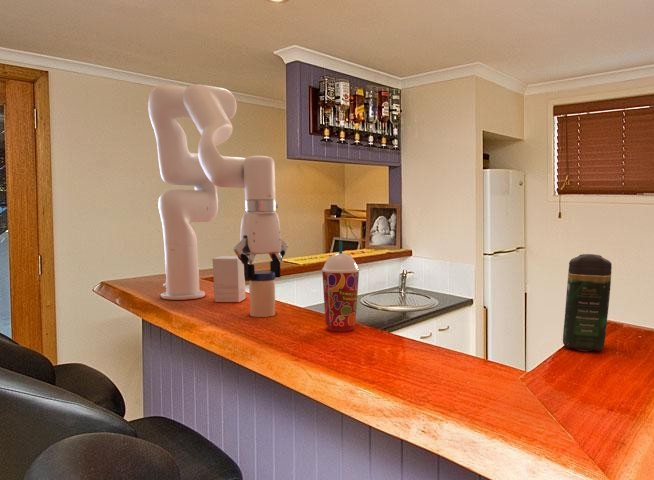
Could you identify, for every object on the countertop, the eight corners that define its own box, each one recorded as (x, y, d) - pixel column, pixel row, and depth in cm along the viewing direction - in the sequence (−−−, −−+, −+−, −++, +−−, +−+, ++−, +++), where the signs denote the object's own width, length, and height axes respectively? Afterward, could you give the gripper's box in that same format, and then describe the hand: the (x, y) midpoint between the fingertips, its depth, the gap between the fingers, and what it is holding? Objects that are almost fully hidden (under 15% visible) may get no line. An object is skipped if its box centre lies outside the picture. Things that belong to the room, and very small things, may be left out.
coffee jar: (606, 354, 106) (614, 257, 103) (561, 350, 109) (568, 255, 106) (603, 343, 115) (611, 253, 112) (562, 339, 118) (569, 251, 115)
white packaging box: (246, 298, 166) (245, 255, 164) (238, 302, 158) (237, 258, 156) (222, 297, 166) (220, 255, 164) (213, 302, 159) (211, 258, 157)
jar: (244, 314, 142) (243, 274, 140) (264, 311, 147) (263, 271, 145) (261, 318, 138) (260, 276, 136) (280, 314, 143) (280, 274, 141)
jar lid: (243, 278, 140) (242, 272, 140) (263, 276, 145) (263, 270, 145) (260, 281, 136) (260, 274, 136) (280, 278, 141) (280, 272, 141)
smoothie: (346, 335, 121) (346, 242, 117) (314, 330, 125) (314, 240, 122) (365, 327, 128) (366, 240, 124) (335, 323, 132) (335, 238, 129)
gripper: (277, 207, 146) (279, 274, 149) (222, 208, 134) (225, 281, 136) (296, 207, 142) (298, 276, 144) (241, 207, 129) (244, 283, 132)
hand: (262, 278), depth 140 cm, fingers open, 7 cm apart
